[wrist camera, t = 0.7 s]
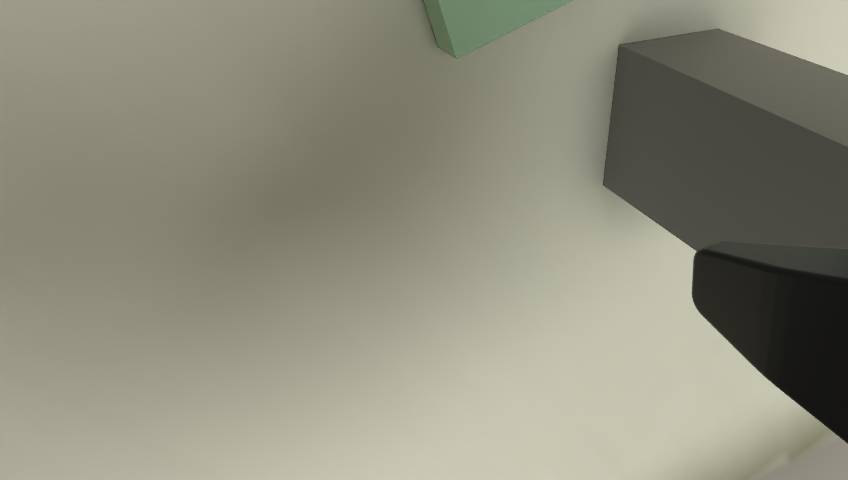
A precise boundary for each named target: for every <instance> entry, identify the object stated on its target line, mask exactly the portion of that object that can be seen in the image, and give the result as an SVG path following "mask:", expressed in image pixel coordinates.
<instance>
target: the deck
mask: <svg viewBox="0 0 848 480" xmlns="http://www.w3.org/2000/svg"><path fill="white" fill-rule="evenodd" d="M423 1H424V4H425V7H426V10H427V13H428V17H429V20H430V23H431V26H432V29H433V32H434V35H435V38H436V42H437V45H438V47H439V48H441V49H442V50H444V51H445V52H447V53H448V54H450V55H452V56H453V57H455V58H456V59H457V58H459V57H461V56H462V55H464V54H466V53H468V52H470V51H472V50H474V49H476V48H478V47H480V46H482V45H484V44H486V43H488V42H490V41H492V40H494V39H496V38H498V37H500V36H502V35H504V34H506V33H508V32H510V31H512V30H514V29H516V28H518V27H520V26H522V25H524V24H526V23H528V22H530V21H532V20H534V19H536V18H538V17H540V16H542V15H544V14H546V13H548V12H550V11H552V10H554V9H556V8H558V7H560V6H562V5H564V4H566V3H568V2H570V1H572V0H423Z"/></svg>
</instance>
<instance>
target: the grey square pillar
mask: <svg viewBox="0 0 848 480" xmlns="http://www.w3.org/2000/svg"><path fill="white" fill-rule="evenodd" d="M603 185H604V186H605V187H607V188H608V189H609V190H611V191H612V192H614V193H615V194H617V195H618V196H619V197H621V198H622V199H624V200H625V201H626V202H628V203H629V204H631V205H632V206H634V207H635V208H636V209H638V210H639V211H641V212H642V213H643V214H645V215H646V216H648V217H649V218H651V219H652V220H653V221H655V222H656V223H658V224H659V225H660V226H662V227H663V228H665V229H666V230H668V231H669V232H670V233H672V234H673V235H675V236H676V237H677V238H679V239H680V240H682V241H683V242H685V243H686V244H687V245H689V246H690V247H692V248H693V249H694V250H696V251H698V250H700V249H701V248H704V247H706V246H708V245H711V244H713V243H715V242H718V241H734V242H749V243H765V244H781V245H797V246H812V247H828V248H844V249H848V75H845V74H843V73H840V72H837V71H834V70H831V69H829V68H826V67H823V66H820V65H818V64H815V63H812V62H809V61H806V60H804V59H801V58H798V57H795V56H793V55H790V54H787V53H784V52H781V51H779V50H776V49H773V48H770V47H768V46H765V45H762V44H759V43H756V42H754V41H751V40H748V39H745V38H742V37H740V36H737V35H734V34H731V33H729V32H726V31H723V30H720V29H714V30H708V31H702V32H695V33H689V34H683V35H676V36H670V37H664V38H658V39H651V40H645V41H639V42H633V43H626V44H620V45H619V50H618V59H617V68H616V76H615V85H614V94H613V102H612V111H611V120H610V128H609V137H608V146H607V154H606V163H605V172H604V180H603Z"/></svg>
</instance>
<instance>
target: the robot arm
mask: <svg viewBox="0 0 848 480" xmlns="http://www.w3.org/2000/svg"><path fill="white" fill-rule="evenodd" d="M692 298H693V302H694V304H695V306H696V308H697V310H698V311H699V312H700V314H701V315H702V316H703V317H704V318H705V319H706V320H707V321H708V322H709V323H710V324H711V325H712V326H713V327H714V328H715V329H716V330H717V331H718V332H719V333H720V334H721V335H723V336H724V337H725V338H726V339H727V340H728V341H729V342H730V343H731V344H732V345H733V346H734V347H735V348H736V349H737V350H738V351H739V352H740V353H741V354H742V355H743V356H744V357H745V358H746V359H747V360H748V361H749V362H750V363H751V364H752V365H753V366H754V367H755V368H756V369H757V370H758V371H759V372H760V373H761V374H762V375H764V376H765V377H766V378H767V379H768V380H769V381H771V382H772V383H773V384H774V385H775V386H776V387H778V388H779V389H780V390H781V391H783V392H784V393H785V394H786V395H788V396H789V397H790V398H791V399H793V400H794V401H795V402H796V403H798V404H799V405H800V406H801V407H803V408H804V409H805V410H806V411H808V412H809V413H810V414H811V415H813V416H814V417H815V418H816V419H818V420H819V421H820V422H821V423H823V424H824V425H825V426H826V427H828V428H829V429H830V430H831V431H833V432H834V433H835V434H836V435H838V436H839V437H840V438H841V439H843V440H844V441H845V442H847V443H848V249H844V248H828V247H812V246H797V245H781V244H765V243H749V242H734V241H718V242H715V243H713V244H711V245H708V246H706V247H704V248H701V249H700V250H698V251H697V252H696V254H695V256H694V261H693V281H692Z"/></svg>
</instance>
